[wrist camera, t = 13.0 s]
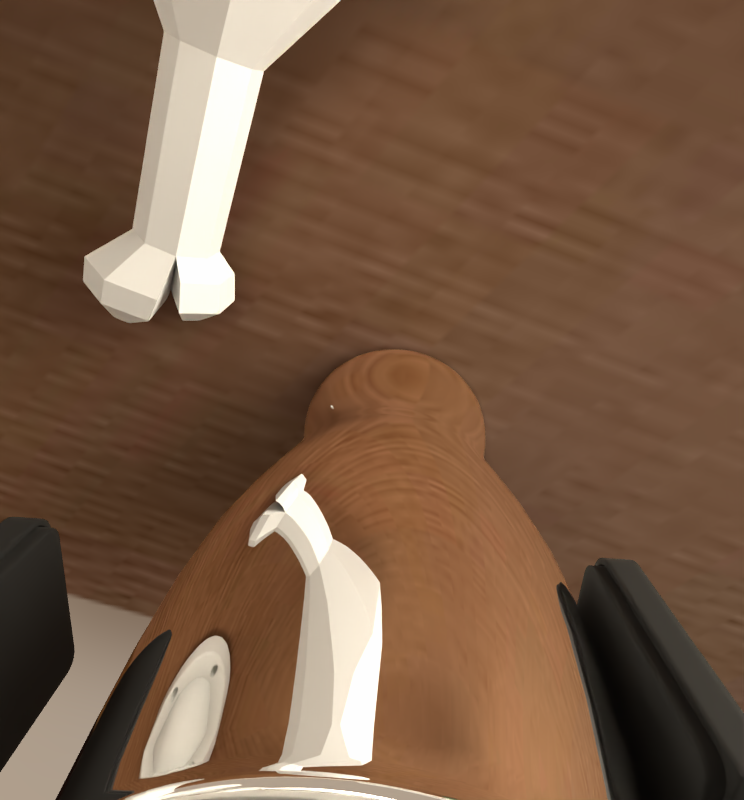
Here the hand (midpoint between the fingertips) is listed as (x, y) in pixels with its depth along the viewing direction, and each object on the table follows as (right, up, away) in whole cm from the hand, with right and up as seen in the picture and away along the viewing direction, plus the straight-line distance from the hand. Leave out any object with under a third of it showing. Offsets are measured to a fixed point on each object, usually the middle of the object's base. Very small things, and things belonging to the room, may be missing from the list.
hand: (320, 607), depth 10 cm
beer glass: (+2, +3, +9) cm, 10 cm away
